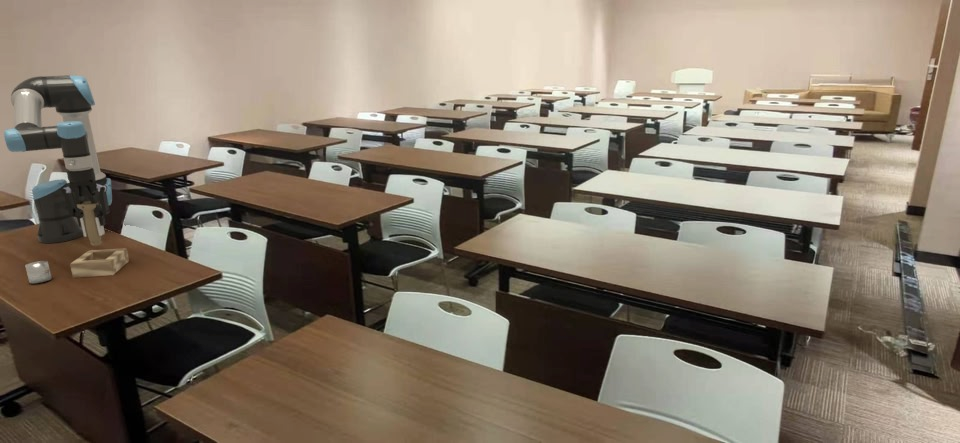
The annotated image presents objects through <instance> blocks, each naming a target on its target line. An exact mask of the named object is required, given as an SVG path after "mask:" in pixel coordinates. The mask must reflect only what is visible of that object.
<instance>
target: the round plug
mask: <svg viewBox="0 0 960 443" xmlns="http://www.w3.org/2000/svg"><path fill="white" fill-rule="evenodd" d="M24 265H25V270H26V275H27V278H28V282H29V284H39V283H44V282H47V281H50V280H52V274H51V268H50V265H49V262H48V260H40V261H34V262H30V263H27V264H24Z"/></svg>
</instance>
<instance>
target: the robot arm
mask: <svg viewBox="0 0 960 443" xmlns="http://www.w3.org/2000/svg"><path fill="white" fill-rule="evenodd" d="M10 102H11V105H12V106H13V111H14V112H13V127H12V128H9V129H5V130H4V131H3V135H4V137H3V138H4V141H5V145H6V147H7V150H8V151H10V152H12V153H19V152H21V153H22V152H23V153H24V152H31V151H34V152H35V151H41V150H43V151H44V150H55V149H56V150H57V149H58V150H59V149H61V152H62V157H63V161H64V166H65V169H66V174H67V179H68V181H67V180H66V179H63V178H61V179H53V180H49V181H46V182H45V181H44V182H42V183H39V184H36V185H35V186H33V188H32V191H31V192H32V193H31V194H32V196H33V197H32V199H33V201H34V205H35V209H36V213H37V217H38V223H39V225H38V228H37V229H38V232H37V240H38V242H39V243H42V244H56V243H63V242H68V241H71V240H75V239H78V238H80V237H85V238H86V237H87V238H88V235H87V231H86V225H85V218H84V213H83V210H81V209H79V208H78V207H77V205H78V204H82V203H83V202H88V201H91V203H92V204H96V203H99V205H96V208H94V210H95V213H96V218H95V220H96V224H97V229H98V233H99V236H101V237H102V236H103V235H105V234H106V232H105V228H104V226H105V225H106V218H105V216H106V215H108V214H109V213H110V208H109V206H111V204H112V203H113V202H112V201H113V194H112V190H113V189H112V180H111V178H109V177H107V175H106V174H105V173H104V172H102V171H101V167H100V163H99V159H98V153H97V149H96V144H95V140H94V134H93V130H92V126H91V120H90V116H89V114H90V113H91V112H92V111H93V110H92V107H93V106H95V105H96V104H95V103H96V101H95V99H94V96H93V94H92V91H91V88H90V86H89V83H88V81H87V78H86V77H84V76H83V75H73V74H72V75H71V74H69V75H67V74H66V75H50V76H49V75H48V76H47V75H46V76H42V75H40V76H39V75H38V76H32V77H30V78H26V79H25V80H24V81H22V82H20V83H19V84H18V85H16V87H14V89H13V91H12V92H11V94H10ZM44 108H46V109H47V108H55V111H56V113H57V114H59V115H60V116H61V117H62V120H63V121H62V122H58V123H57V124H56V125H53V126H51V125H50V126H49V125H48V126H43V124H42V123H43V121H42V109H44Z"/></svg>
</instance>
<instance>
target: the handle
mask: <svg viewBox="0 0 960 443" xmlns="http://www.w3.org/2000/svg"><path fill="white" fill-rule="evenodd" d="M96 205H99V203H96V204H92V203H91V201H88V202H83V203H82V204H78V205H77V207H78V208H79V209H81V210H83V215H84V216H83V217H84V218H85V225H86V231H87V235H88V236H87V238H88V239H89V240H88V241H89V243H90V245H91V246H93V247H96V246H101V245H102V244H103V241H102V236H99V233H98V229H97V224H96V220H95V218H96V216H97V214H96V212H95V210H94V208H96Z"/></svg>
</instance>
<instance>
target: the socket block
mask: <svg viewBox="0 0 960 443" xmlns="http://www.w3.org/2000/svg"><path fill="white" fill-rule="evenodd" d="M129 261H130V258H129V253H128V249H127V247H123V248H110V249H109V248H108V249H91V250H87V251H85V253H83V254H82V255H81V256H79V257H78V258H76V259H75V260H73V261H72V262H71V263H69V266H70V270H71V275H72V279H75V278H76V279H77V278H88V277H90V278H91V277H101V276H102V277H103V276H114V275H115V274H116V273H118V272H119V271H120V270H121V269H122V268H123V267H124V266H125V265H126V264H128V263H129Z"/></svg>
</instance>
